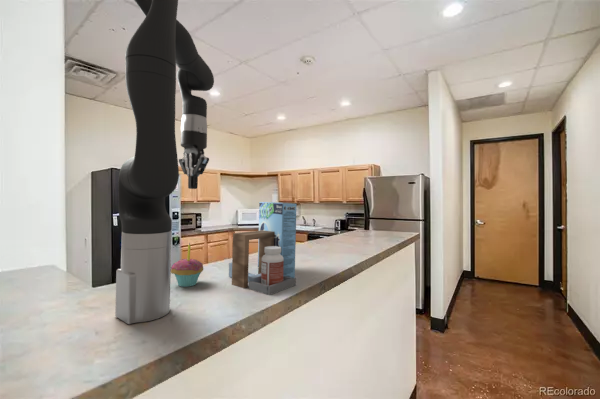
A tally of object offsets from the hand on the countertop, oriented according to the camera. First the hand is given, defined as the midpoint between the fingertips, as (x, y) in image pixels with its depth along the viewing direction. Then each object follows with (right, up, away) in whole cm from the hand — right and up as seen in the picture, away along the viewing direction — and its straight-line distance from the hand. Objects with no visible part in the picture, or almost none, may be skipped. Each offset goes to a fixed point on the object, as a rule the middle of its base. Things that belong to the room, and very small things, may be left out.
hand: (192, 188), depth 89 cm
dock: (+25, -28, -8) cm, 38 cm away
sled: (+17, -27, -2) cm, 32 cm away
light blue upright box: (+25, -27, +5) cm, 37 cm away
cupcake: (+1, -27, -7) cm, 28 cm away
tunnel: (+19, -28, -3) cm, 34 cm away
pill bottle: (+25, -28, -8) cm, 38 cm away
